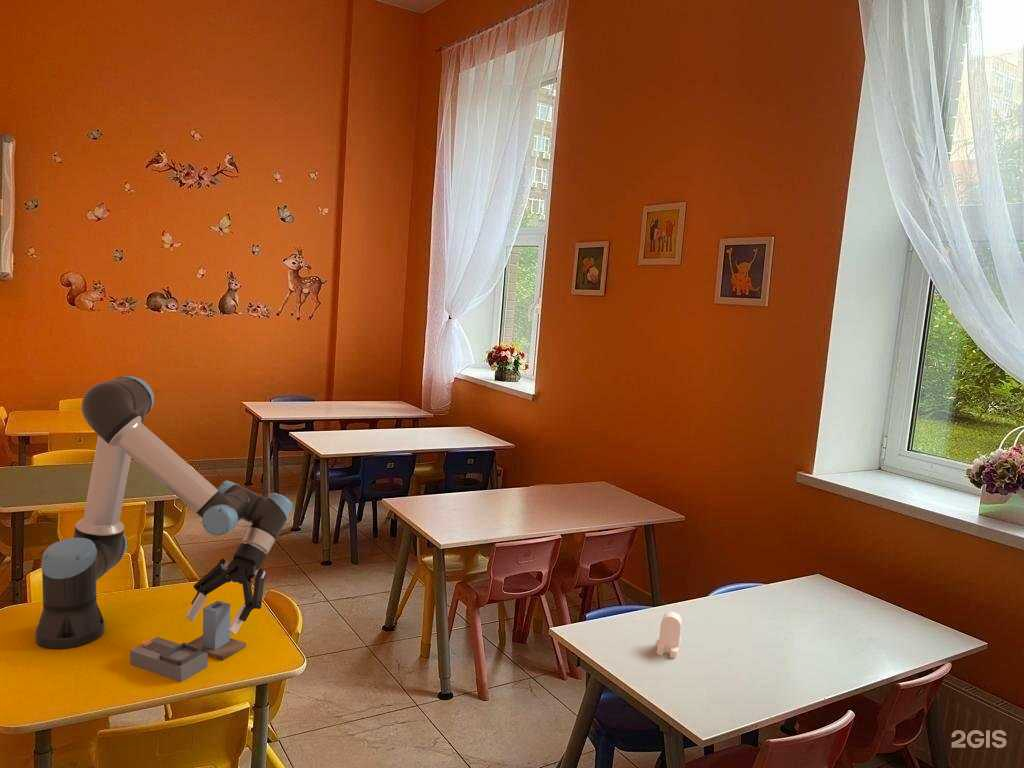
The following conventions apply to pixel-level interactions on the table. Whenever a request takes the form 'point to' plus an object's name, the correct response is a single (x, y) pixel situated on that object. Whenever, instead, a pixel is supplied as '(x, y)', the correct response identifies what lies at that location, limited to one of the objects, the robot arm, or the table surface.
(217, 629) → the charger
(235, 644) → the walnut board
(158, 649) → the grey rectangular box
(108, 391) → the robot arm
